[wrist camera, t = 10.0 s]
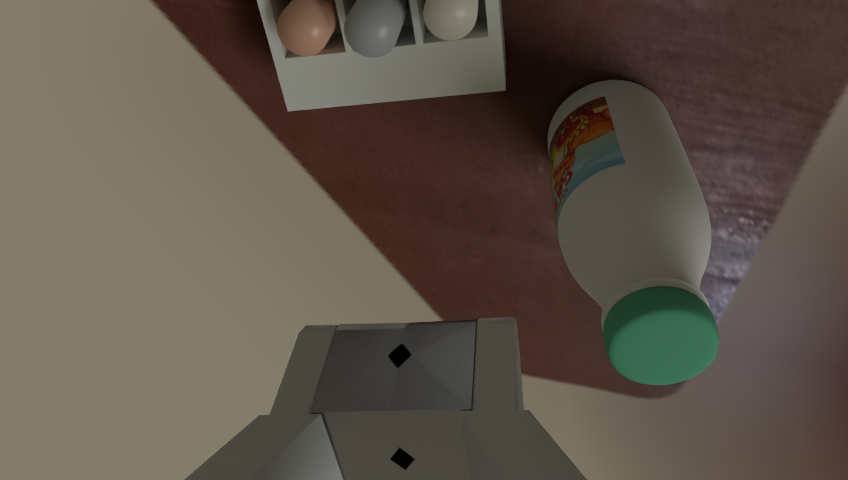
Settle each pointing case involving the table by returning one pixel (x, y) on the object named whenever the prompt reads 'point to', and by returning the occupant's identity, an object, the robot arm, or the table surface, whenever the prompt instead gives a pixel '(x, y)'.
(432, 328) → the robot arm
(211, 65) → the table surface
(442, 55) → the white compartment tray
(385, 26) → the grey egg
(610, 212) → the milk bottle
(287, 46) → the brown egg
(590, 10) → the table surface
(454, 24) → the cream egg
